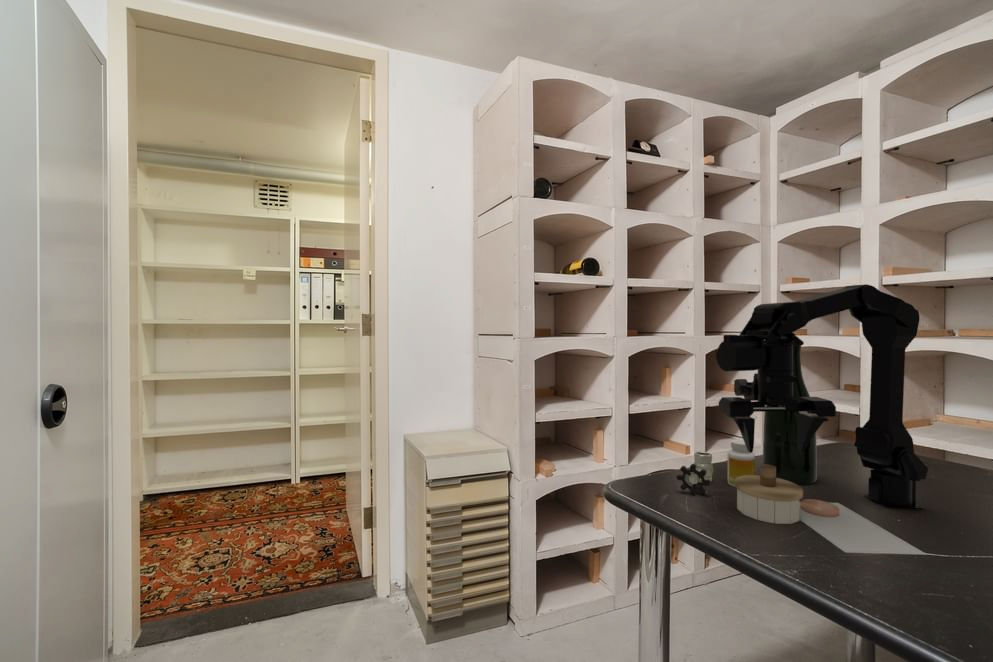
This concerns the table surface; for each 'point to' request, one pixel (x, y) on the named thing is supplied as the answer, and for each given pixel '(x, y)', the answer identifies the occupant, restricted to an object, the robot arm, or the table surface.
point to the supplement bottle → (739, 461)
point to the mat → (856, 533)
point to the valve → (698, 473)
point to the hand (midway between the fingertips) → (775, 452)
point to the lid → (769, 486)
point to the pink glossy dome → (819, 508)
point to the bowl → (768, 509)
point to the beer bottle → (789, 437)
